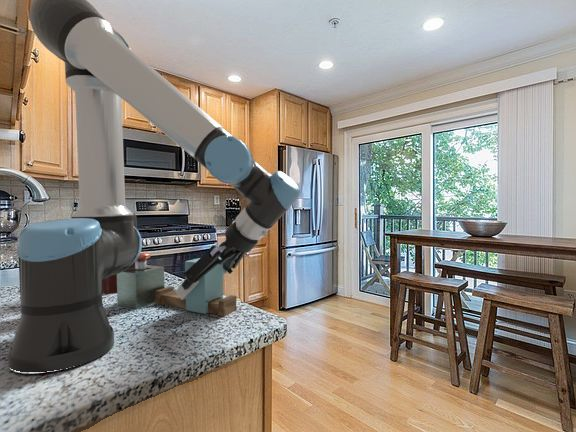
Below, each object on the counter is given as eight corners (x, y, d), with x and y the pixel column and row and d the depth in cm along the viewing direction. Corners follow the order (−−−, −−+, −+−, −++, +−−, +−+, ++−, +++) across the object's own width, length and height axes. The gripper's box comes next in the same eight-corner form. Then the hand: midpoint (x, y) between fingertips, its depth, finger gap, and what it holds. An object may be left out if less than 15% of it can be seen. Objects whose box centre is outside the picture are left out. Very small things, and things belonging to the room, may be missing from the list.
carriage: (223, 305, 81) (222, 258, 80) (205, 314, 75) (204, 263, 74) (204, 302, 83) (204, 257, 83) (185, 310, 77) (184, 261, 77)
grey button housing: (164, 299, 87) (163, 266, 86) (136, 309, 79) (135, 273, 78) (146, 296, 90) (145, 264, 89) (117, 305, 82) (116, 271, 81)
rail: (236, 309, 78) (236, 295, 78) (224, 316, 73) (223, 301, 73) (170, 298, 87) (169, 286, 87) (155, 304, 83) (155, 290, 83)
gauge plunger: (143, 280, 81) (143, 255, 81) (127, 279, 82) (127, 255, 82) (154, 276, 86) (153, 252, 86) (139, 275, 87) (138, 252, 86)
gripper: (227, 248, 61) (169, 315, 69) (279, 237, 82) (230, 289, 89) (205, 220, 64) (151, 289, 71) (261, 216, 84) (215, 269, 91)
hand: (195, 289), depth 80 cm, fingers open, 10 cm apart
